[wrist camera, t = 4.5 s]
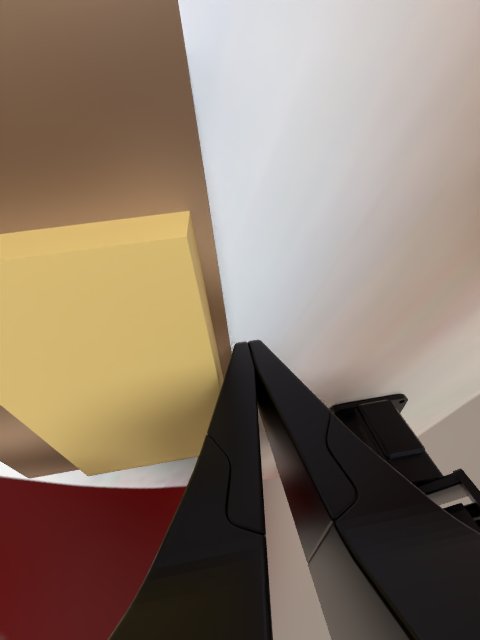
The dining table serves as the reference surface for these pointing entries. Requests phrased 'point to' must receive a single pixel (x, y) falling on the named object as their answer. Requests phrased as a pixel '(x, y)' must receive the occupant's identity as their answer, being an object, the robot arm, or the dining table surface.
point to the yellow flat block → (109, 340)
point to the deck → (97, 142)
